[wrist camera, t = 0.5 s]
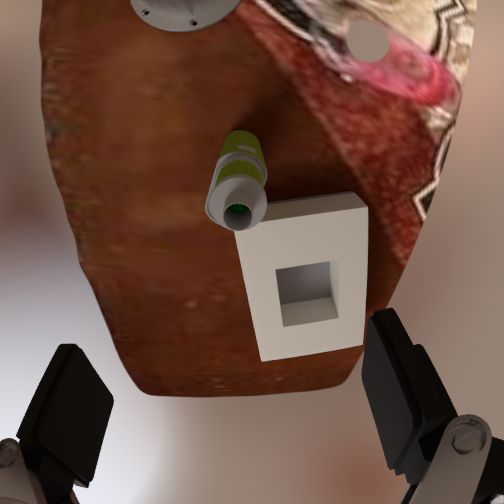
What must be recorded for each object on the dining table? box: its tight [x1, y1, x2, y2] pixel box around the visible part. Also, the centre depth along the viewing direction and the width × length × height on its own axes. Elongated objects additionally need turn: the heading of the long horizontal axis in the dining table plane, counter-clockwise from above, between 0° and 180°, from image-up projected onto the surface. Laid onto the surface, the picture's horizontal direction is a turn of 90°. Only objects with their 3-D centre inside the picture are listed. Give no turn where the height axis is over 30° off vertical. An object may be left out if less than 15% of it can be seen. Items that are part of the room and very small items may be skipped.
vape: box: [205, 130, 267, 231], centre depth 26 cm, size 4×6×20 cm, turn 162°
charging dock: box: [234, 191, 368, 361], centre depth 40 cm, size 20×14×5 cm
